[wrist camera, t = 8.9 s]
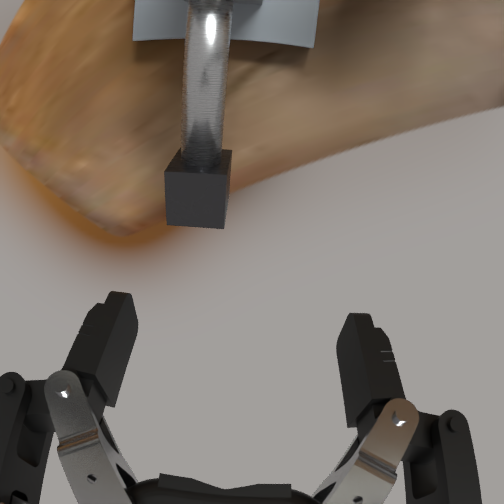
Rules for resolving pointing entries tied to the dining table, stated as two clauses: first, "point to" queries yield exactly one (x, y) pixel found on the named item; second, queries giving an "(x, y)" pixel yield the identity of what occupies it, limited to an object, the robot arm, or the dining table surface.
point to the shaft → (202, 121)
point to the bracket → (233, 21)
